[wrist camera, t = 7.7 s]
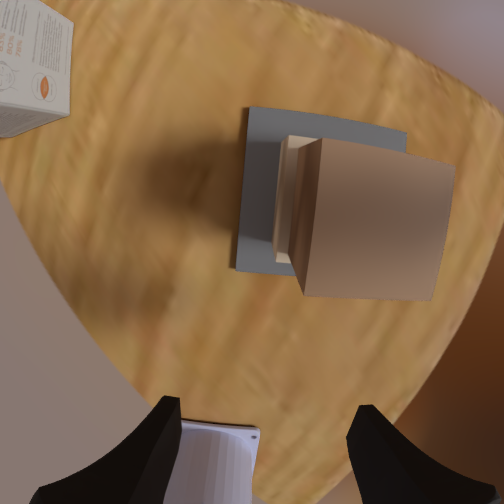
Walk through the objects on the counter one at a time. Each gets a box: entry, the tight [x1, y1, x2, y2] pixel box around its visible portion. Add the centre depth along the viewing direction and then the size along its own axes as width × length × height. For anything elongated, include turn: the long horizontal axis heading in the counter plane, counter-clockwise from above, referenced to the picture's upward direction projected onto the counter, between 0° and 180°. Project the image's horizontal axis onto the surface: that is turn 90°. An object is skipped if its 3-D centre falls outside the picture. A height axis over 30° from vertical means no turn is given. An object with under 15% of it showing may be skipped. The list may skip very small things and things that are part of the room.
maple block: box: [271, 135, 318, 263], centre depth 16 cm, size 6×6×4 cm
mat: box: [236, 107, 407, 276], centre depth 18 cm, size 10×10×1 cm
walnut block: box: [288, 138, 456, 301], centre depth 12 cm, size 5×5×5 cm
